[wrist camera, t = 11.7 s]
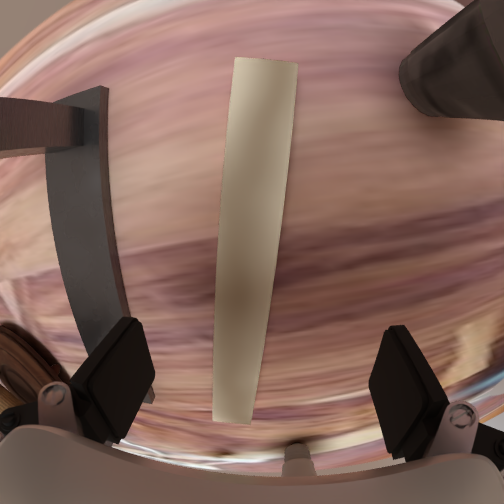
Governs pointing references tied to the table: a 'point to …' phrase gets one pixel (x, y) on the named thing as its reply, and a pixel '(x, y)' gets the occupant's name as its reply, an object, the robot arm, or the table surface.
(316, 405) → the table surface
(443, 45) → the beverage cup
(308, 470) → the lightbulb
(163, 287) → the table surface
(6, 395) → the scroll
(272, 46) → the table surface
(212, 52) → the table surface
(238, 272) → the maple bar
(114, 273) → the grey frame stand
